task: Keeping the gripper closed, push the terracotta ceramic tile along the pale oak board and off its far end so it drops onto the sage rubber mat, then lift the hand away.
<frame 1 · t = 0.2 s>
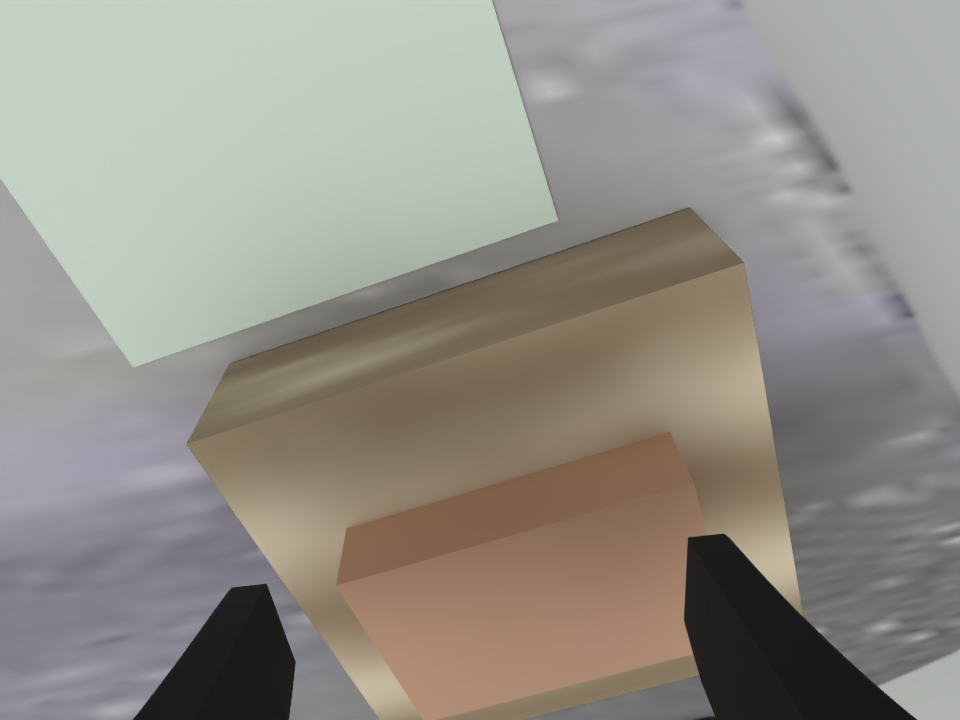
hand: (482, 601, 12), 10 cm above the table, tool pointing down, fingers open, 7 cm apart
oak board: (522, 470, 23), on the table
sage mat: (252, 120, 17), on the table
terracotta tile: (535, 558, 20), point 4 cm above the table, touching oak board
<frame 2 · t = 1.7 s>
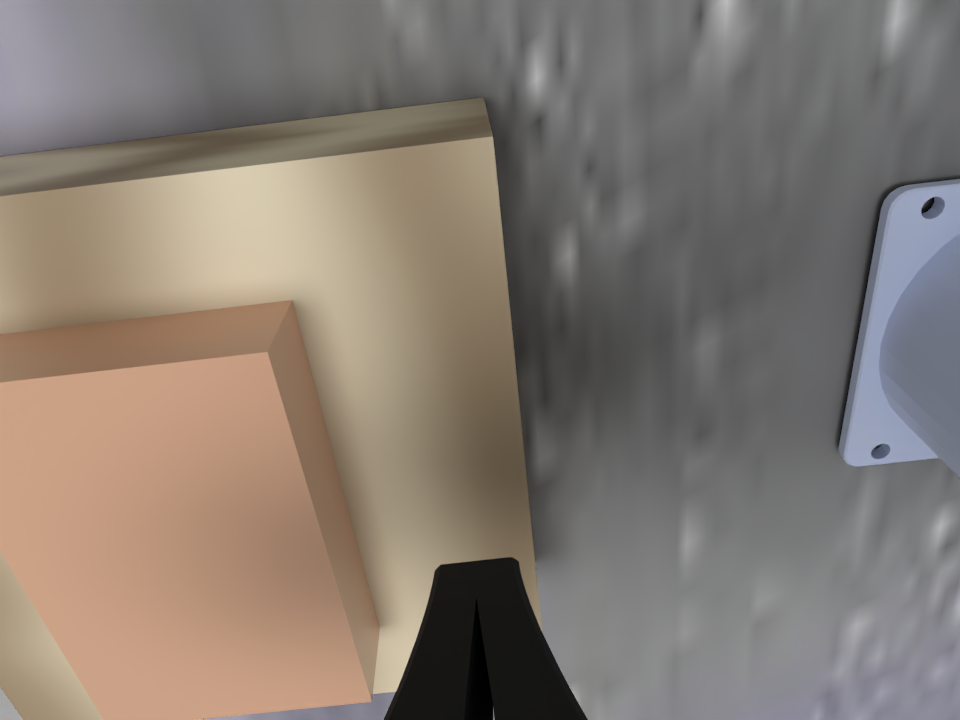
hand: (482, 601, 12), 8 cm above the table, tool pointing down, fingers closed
oak board: (252, 403, 19), on the table
terracotta tile: (206, 502, 15), point 4 cm above the table, touching oak board
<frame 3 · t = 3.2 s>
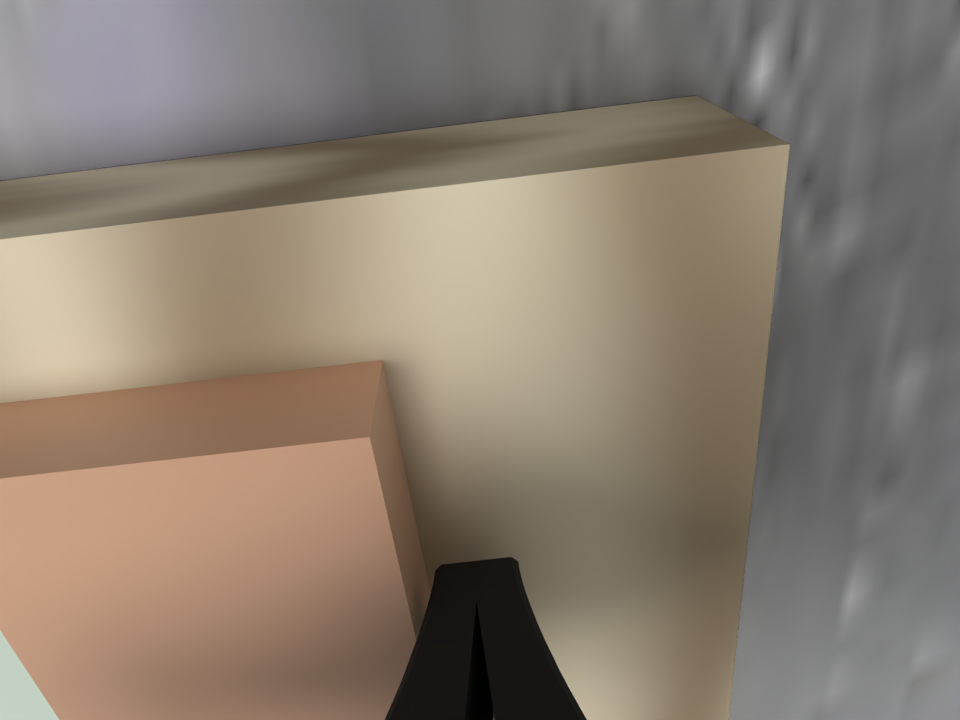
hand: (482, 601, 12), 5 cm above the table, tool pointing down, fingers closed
oak board: (384, 447, 16), on the table
terracotta tile: (264, 589, 13), point 4 cm above the table, touching gripper, oak board
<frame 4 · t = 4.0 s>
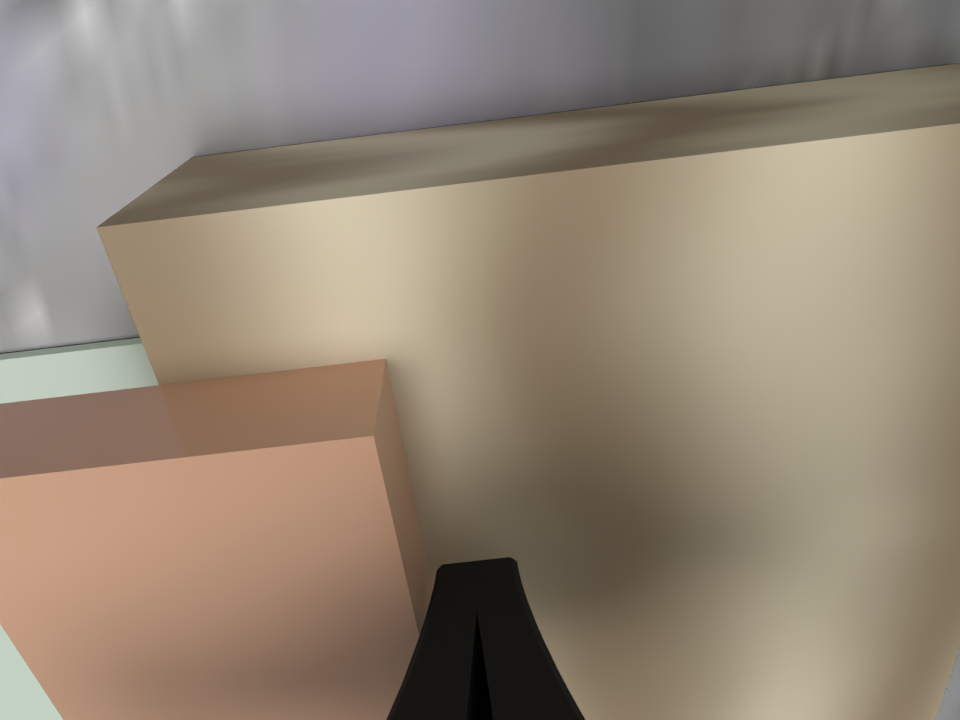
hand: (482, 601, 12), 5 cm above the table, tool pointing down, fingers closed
oak board: (583, 424, 16), on the table
sage mat: (83, 577, 18), on the table
terracotta tile: (267, 589, 13), point 4 cm above the table, touching gripper, oak board
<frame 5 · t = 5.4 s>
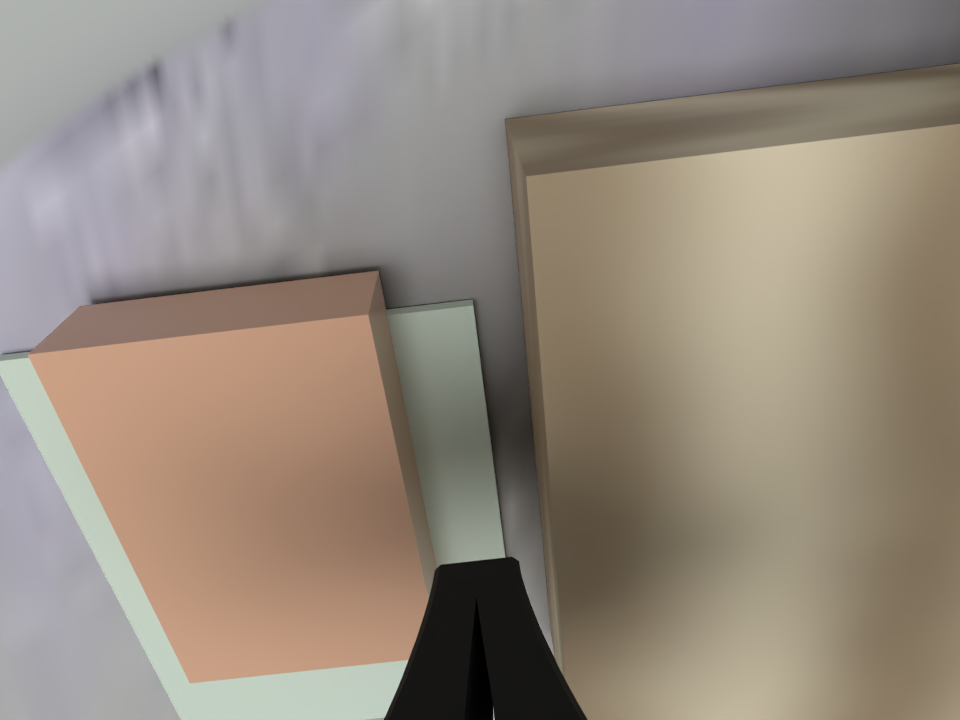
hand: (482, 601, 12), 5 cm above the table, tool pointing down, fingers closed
oak board: (835, 396, 16), on the table
sage mat: (307, 553, 18), on the table
terracotta tile: (264, 528, 14), point 2 cm above the table, tilted 180°, touching sage mat
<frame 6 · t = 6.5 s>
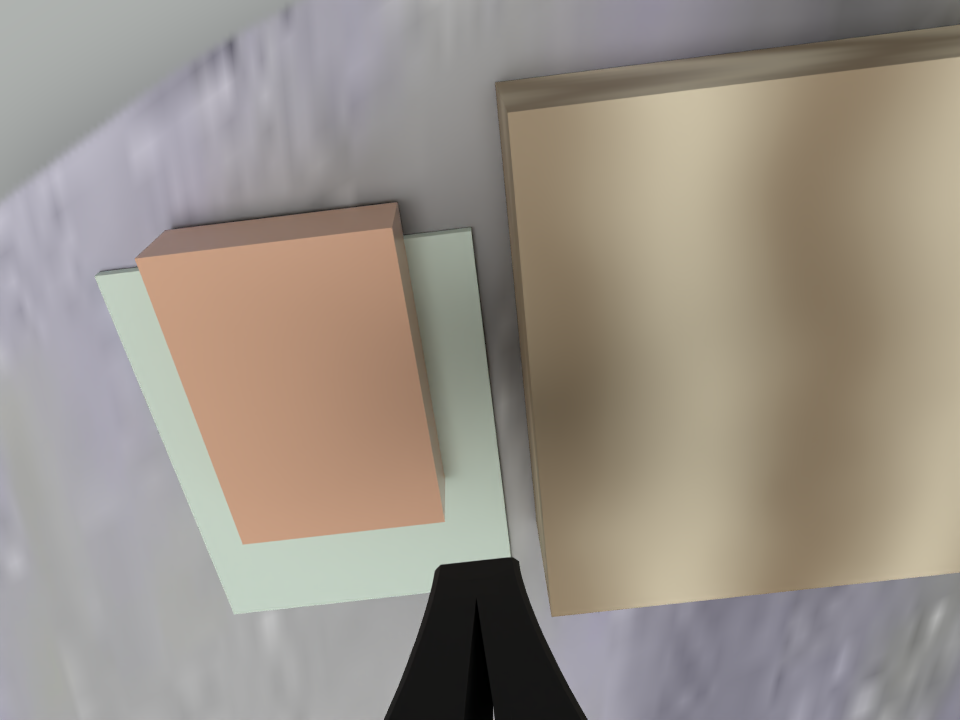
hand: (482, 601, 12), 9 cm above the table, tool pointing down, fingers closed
oak board: (761, 310, 20), on the table
sage mat: (335, 446, 22), on the table
terracotta tile: (308, 405, 18), point 2 cm above the table, tilted 180°, touching sage mat
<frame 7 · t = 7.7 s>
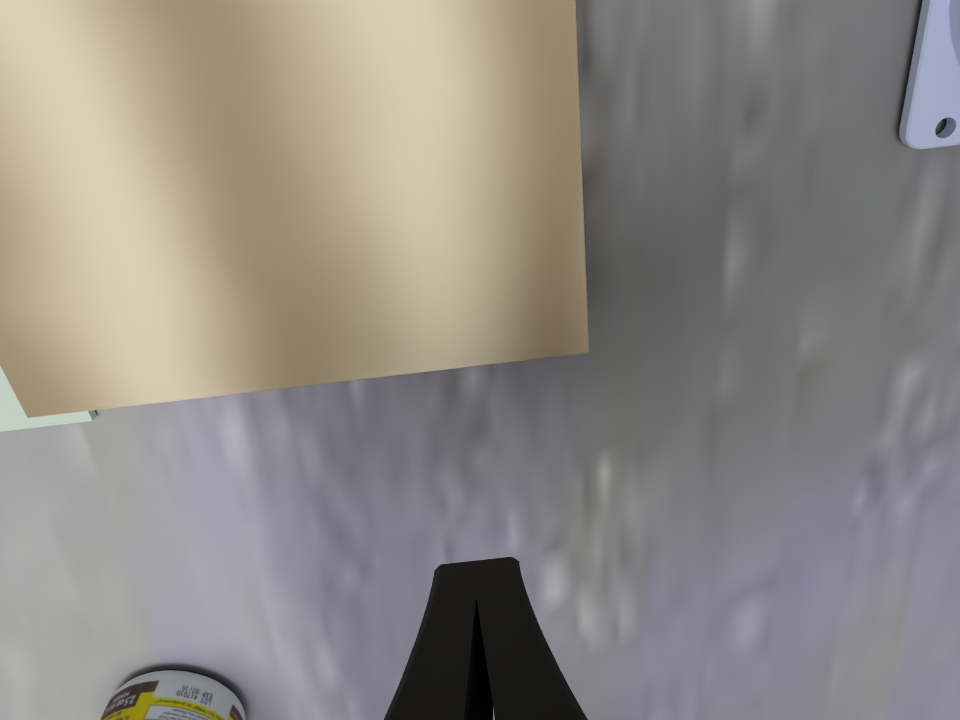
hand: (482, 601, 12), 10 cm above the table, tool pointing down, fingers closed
oak board: (268, 61, 17), on the table
supplement bottle: (183, 701, 29), on the table
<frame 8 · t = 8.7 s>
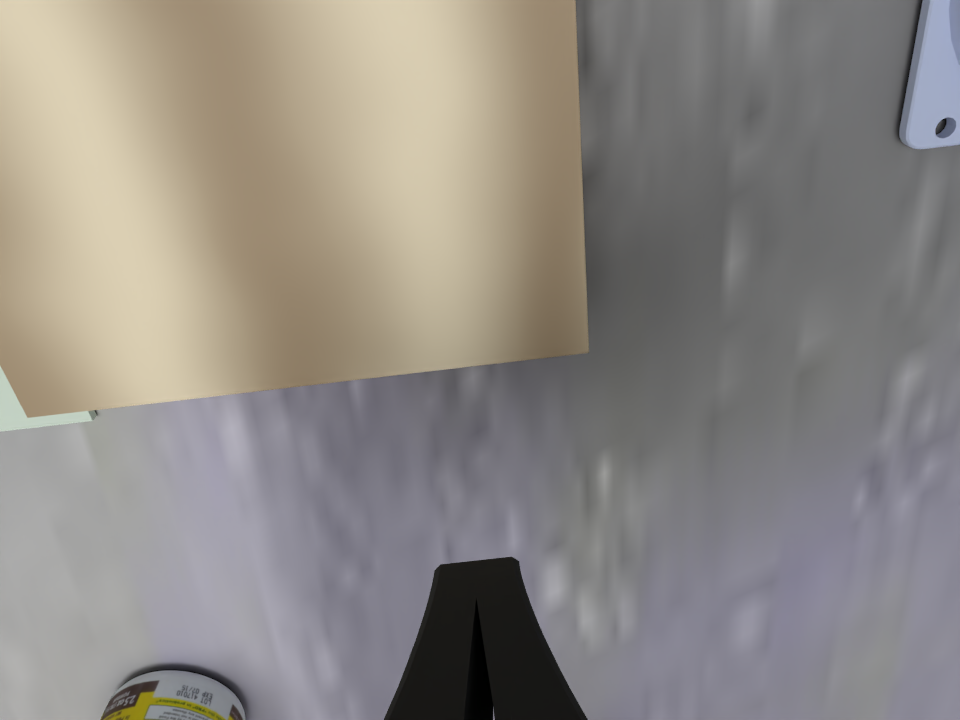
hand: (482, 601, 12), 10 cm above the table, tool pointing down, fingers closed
oak board: (268, 61, 17), on the table
supplement bottle: (183, 701, 29), on the table
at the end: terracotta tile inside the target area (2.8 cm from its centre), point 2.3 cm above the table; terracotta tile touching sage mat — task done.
